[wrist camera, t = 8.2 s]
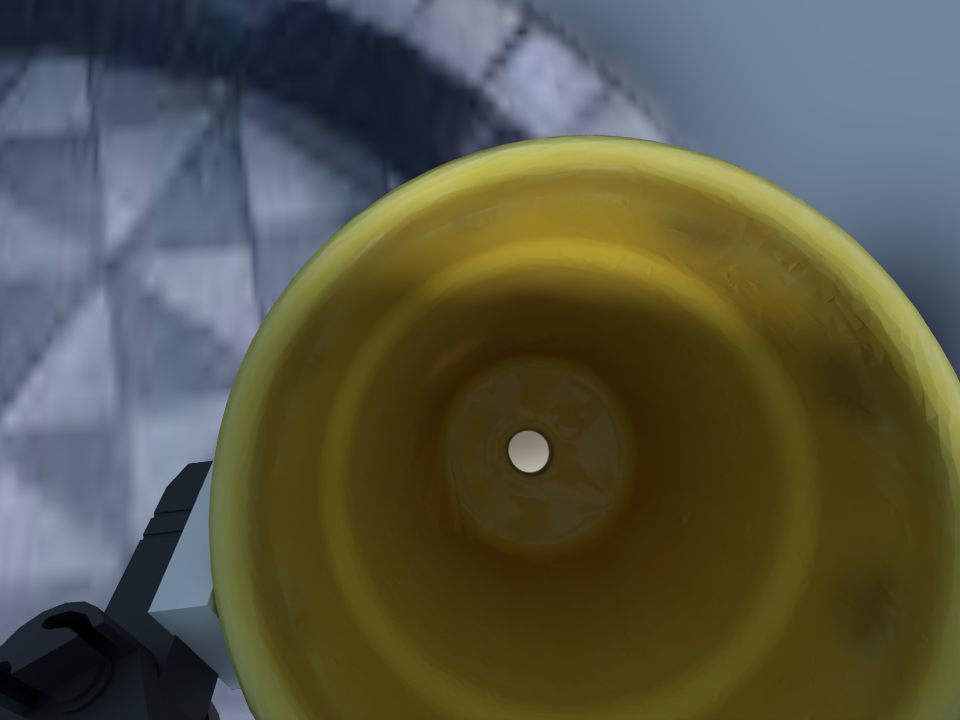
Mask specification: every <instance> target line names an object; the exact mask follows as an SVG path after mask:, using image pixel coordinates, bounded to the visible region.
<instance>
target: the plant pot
mask: <svg viewBox="0 0 960 720" xmlns="http://www.w3.org/2000/svg"><path fill="white" fill-rule="evenodd" d="M523 431H533V432H536V433H538V434H540V435H541V436H542V437H543V438H544V439H545V441H546V442H547V445H548V450H549V455H548V460H547V462H546V464H545V465H544V466H543V467H542V468H541V469H540V470H538V471H535V472H525V471H522V470H520V469H518V468H517V467H516V466H515V465H514V464H513V462H512V460H511V458H510V456H509V444H510V442H511V440H512V438H513V437H514V436H515V435H517V434H518V433H520V432H523ZM209 545H210V565H211V575H212V581H213V588H214V595H215V602H216V607H217V611H218V616H219V620H220V625H221V629H222V633H223V637H224V640H225V643H226V647H227V650H228V653H229V657H230V660H231V663H232V666H233V669H234V672H235V675H236V678H237V680H238V683H239V685H240V687H241V690H242V692H243V695H244V697H245V699H246V702H247V704H248V706H249V709H250V711H251V713H252V714H253V716H254V718H255V720H960V382H959V380H958V378H957V376H956V374H955V372H954V370H953V368H952V367H951V365H950V363H949V361H948V359H947V357H946V356H945V354H944V352H943V350H942V349H941V347H940V345H939V344H938V342H937V341H936V339H935V337H934V336H933V334H932V333H931V331H930V329H929V328H928V326H927V325H926V323H925V322H924V320H923V319H922V317H921V315H920V314H919V312H918V311H917V310H916V308H915V307H914V306H913V304H912V303H911V302H910V301H909V299H908V298H907V297H906V295H905V294H904V293H903V292H902V290H901V289H900V288H899V287H898V285H897V284H896V283H895V281H894V280H893V279H892V278H891V277H890V276H889V275H888V274H887V273H886V272H885V271H884V269H883V268H882V267H881V266H880V265H879V264H878V263H877V262H876V261H875V260H874V259H873V258H872V257H871V256H870V255H869V254H868V253H867V252H866V251H865V250H864V249H863V248H862V247H861V246H860V245H859V244H858V243H857V242H856V241H855V240H854V239H853V238H852V237H850V236H849V235H848V234H847V233H846V232H845V231H843V230H842V229H841V228H840V227H839V226H837V225H836V224H835V223H834V222H832V221H831V220H829V219H828V218H827V217H825V216H824V215H822V214H821V213H820V212H818V211H817V210H815V209H814V208H812V207H811V206H810V205H808V204H807V203H805V202H804V201H802V200H801V199H799V198H798V197H796V196H795V195H793V194H791V193H790V192H788V191H786V190H784V189H782V188H781V187H779V186H777V185H775V184H774V183H772V182H771V181H769V180H767V179H764V178H762V177H760V176H758V175H756V174H754V173H752V172H750V171H748V170H746V169H743V168H741V167H739V166H736V165H734V164H731V163H729V162H727V161H724V160H721V159H718V158H715V157H712V156H709V155H706V154H703V153H699V152H696V151H692V150H689V149H685V148H682V147H677V146H673V145H669V144H664V143H660V142H655V141H650V140H643V139H636V138H629V137H618V136H605V135H570V136H555V137H548V138H540V139H532V140H526V141H520V142H514V143H509V144H504V145H500V146H497V147H493V148H489V149H485V150H482V151H478V152H476V153H473V154H470V155H467V156H464V157H461V158H458V159H455V160H452V161H450V162H448V163H445V164H443V165H441V166H438V167H436V168H434V169H432V170H429V171H427V172H425V173H423V174H421V175H419V176H417V177H416V178H414V179H412V180H410V181H408V182H406V183H404V184H402V185H400V186H398V187H397V188H395V189H393V190H391V191H390V192H389V193H387V194H386V195H384V196H383V197H381V198H380V199H378V200H377V201H376V202H374V203H373V204H371V205H370V206H369V207H367V208H366V209H364V210H363V211H362V212H360V213H359V214H357V215H356V216H355V217H353V218H352V219H351V220H350V221H348V222H347V223H346V224H345V225H344V226H343V227H342V228H341V229H340V230H339V231H337V232H336V233H335V234H334V235H333V236H332V237H331V238H330V239H329V240H328V241H326V243H325V244H324V245H323V246H322V247H321V248H320V249H319V250H318V251H317V252H316V253H315V254H314V255H313V256H312V257H311V258H310V259H309V260H308V261H307V262H306V264H305V265H304V266H303V267H302V268H301V270H300V271H299V272H298V273H297V274H296V276H295V277H294V278H293V279H292V280H291V282H290V283H289V284H288V286H287V287H286V288H285V290H284V291H283V292H282V294H281V295H280V297H279V298H278V299H277V301H276V302H275V304H274V305H273V307H272V308H271V310H270V311H269V313H268V314H267V316H266V317H265V319H264V321H263V323H262V324H261V326H260V328H259V329H258V331H257V333H256V335H255V336H254V338H253V340H252V342H251V344H250V346H249V348H248V351H247V353H246V355H245V357H244V359H243V362H242V364H241V366H240V368H239V371H238V373H237V376H236V379H235V382H234V384H233V387H232V390H231V393H230V395H229V398H228V401H227V404H226V408H225V411H224V415H223V419H222V423H221V427H220V431H219V435H218V441H217V446H216V452H215V458H214V463H213V471H212V479H211V488H210V504H209Z"/></svg>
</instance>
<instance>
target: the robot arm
mask: <svg viewBox="0 0 960 720" xmlns="http://www.w3.org/2000/svg"><path fill="white" fill-rule="evenodd" d="M213 463H214V460H213V461H207V462H199V463H190V464H188V465H187V466H186V467H185V468H184V469H183V470H182V471H181V472H180V473H179V474H178V475H177V477H176V478H175V479H174V480H173V481H172V482H171V483H170V484H169V485H168V486H167V487H166V489H165V491H164V493H163V495H162V497H161V499H160V501H159V503H158V505H157V507H156V509H155V511H154V518H151V519H150V522H149V524H148V526H147V528H146V530H145V532H144V534H143V536H144V538H143V540H140V542H139V544H138V546H137V548H136V550H135V552H134V554H133V556H132V558H131V560H130V562H129V564H128V566H127V568H126V570H125V572H124V574H123V576H122V578H121V580H120V582H119V584H118V586H117V588H116V590H115V592H114V594H113V596H112V598H111V600H110V602H109V604H108V606H107V608H106V610H105V612H103V611H102V610H100V609H99V608H98V607H96V606H93V605H91V604H89V603H87V602H85V601H84V602H71V603H64V604H62V605H59V606H57V607H54V608H52V609H49V610H47V611H44V612H42V613H41V614H39V615H38V616H36V617H35V618H33V619H32V620H30V621H29V622H27V623H26V624H24V625H23V626H21V627H20V628H19V629H18V630H17V631H16V632H15V633H14V634H13V635H12V636H11V637H10V638H9V639H8V640H7V641H6V642H5V643H4V644H3V645H2V646H1V647H0V720H220V718H219V714H218V712H217V710H216V708H215V706H214V705H213V703H212V702H211V699H212V695H213V692H214V689H215V685H216V682H217V678H218V677H219V678H220V679H221V680H222V681H223V682H224V683H225V684H226V685H227V686H229V687H230V688H231V689H232V690H235V689H241V687H240V685H239V683H238V680H237V678H236V675H235V672H234V669H233V666H232V663H231V660H230V657H229V653H228V650H227V647H226V643H225V640H224V637H223V633H222V629H221V625H220V620H219V616H218V611H217V607H216V602H215V595H214V588H213V581H212V575H211V565H210V545H209V504H210V488H211V479H212V471H213Z"/></svg>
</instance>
